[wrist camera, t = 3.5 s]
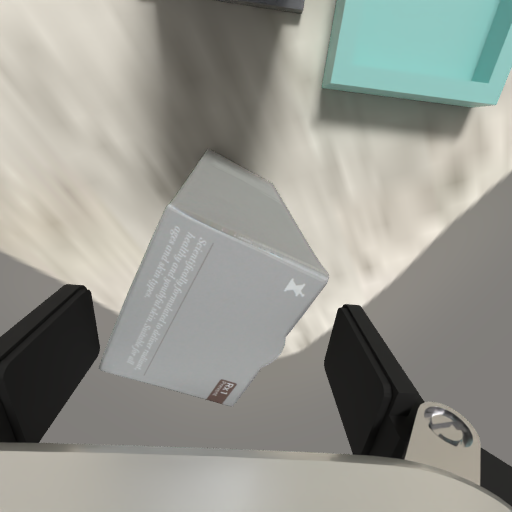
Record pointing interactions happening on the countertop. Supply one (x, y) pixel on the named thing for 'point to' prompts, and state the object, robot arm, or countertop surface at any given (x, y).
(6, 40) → the countertop surface
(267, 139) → the countertop surface
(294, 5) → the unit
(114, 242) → the countertop surface
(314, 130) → the countertop surface
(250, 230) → the skincare box
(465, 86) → the tray
